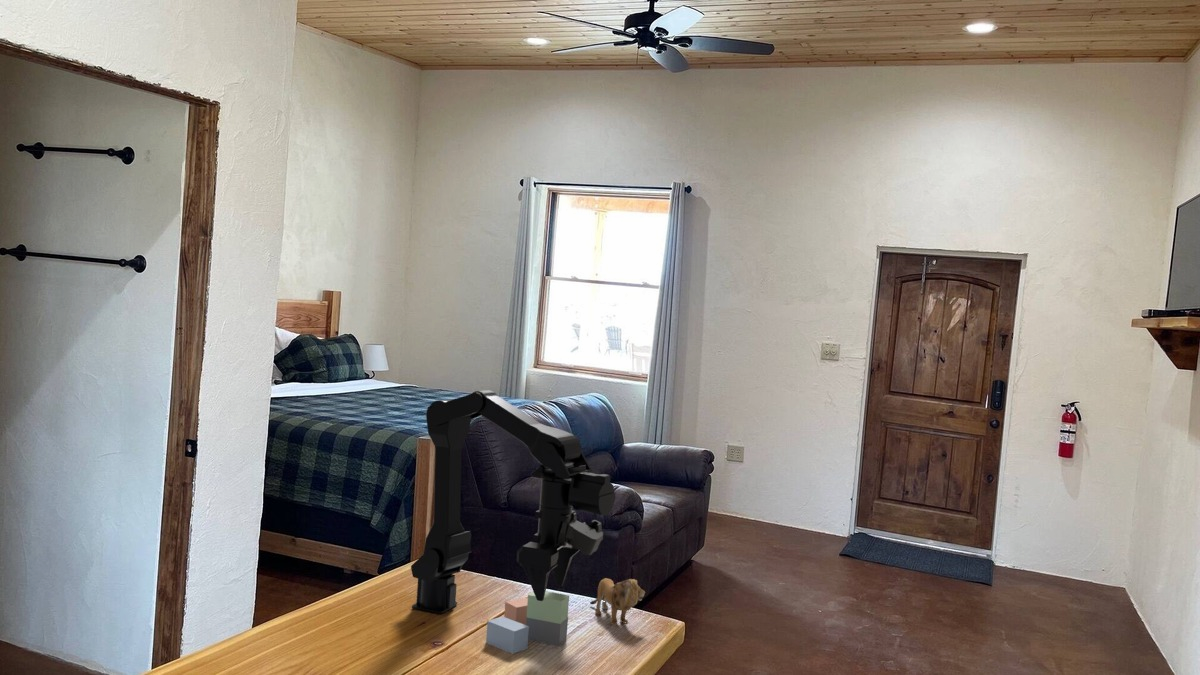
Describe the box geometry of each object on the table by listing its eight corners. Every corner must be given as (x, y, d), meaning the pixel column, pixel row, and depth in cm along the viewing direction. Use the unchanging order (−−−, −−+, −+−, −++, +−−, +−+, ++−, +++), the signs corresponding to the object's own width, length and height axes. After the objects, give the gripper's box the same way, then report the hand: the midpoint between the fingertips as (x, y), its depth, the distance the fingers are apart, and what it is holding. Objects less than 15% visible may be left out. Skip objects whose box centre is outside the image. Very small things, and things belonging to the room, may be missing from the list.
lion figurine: (646, 628, 173) (649, 580, 173) (623, 632, 170) (627, 584, 170) (600, 604, 185) (603, 559, 185) (578, 608, 182) (581, 562, 182)
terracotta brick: (515, 629, 169) (516, 607, 168) (503, 623, 171) (505, 601, 171) (543, 622, 173) (544, 601, 173) (531, 617, 176) (533, 596, 175)
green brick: (526, 617, 163) (528, 594, 163) (534, 611, 167) (535, 589, 167) (560, 623, 161) (561, 601, 161) (567, 617, 165) (569, 595, 165)
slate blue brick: (485, 643, 161) (487, 621, 160) (500, 638, 163) (502, 616, 163) (512, 654, 157) (514, 631, 156) (527, 649, 159) (528, 626, 159)
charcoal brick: (525, 639, 164) (526, 617, 163) (533, 633, 167) (534, 611, 167) (559, 646, 161) (560, 623, 161) (566, 639, 165) (568, 617, 165)
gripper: (581, 522, 152) (574, 617, 152) (615, 502, 169) (609, 586, 170) (518, 513, 155) (512, 605, 156) (558, 494, 173) (553, 576, 174)
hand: (550, 593), depth 164 cm, fingers open, 9 cm apart
